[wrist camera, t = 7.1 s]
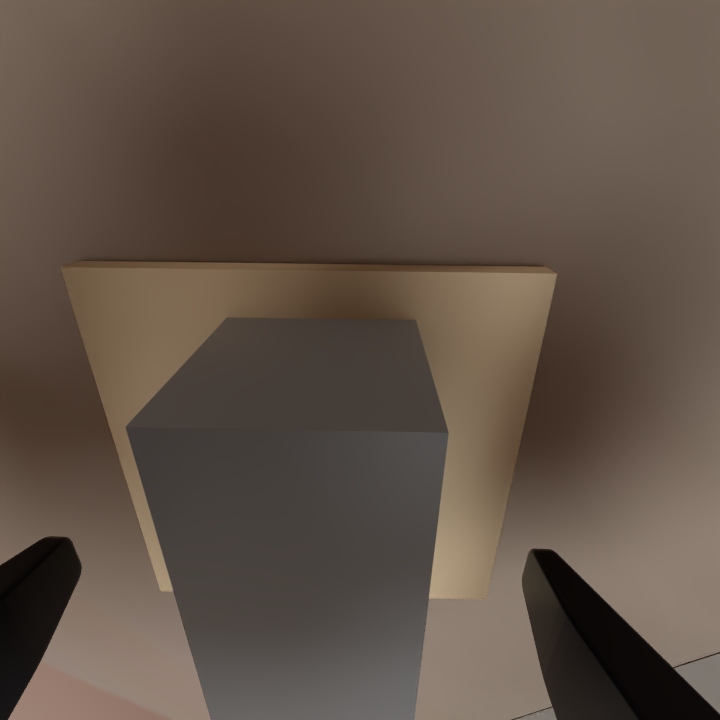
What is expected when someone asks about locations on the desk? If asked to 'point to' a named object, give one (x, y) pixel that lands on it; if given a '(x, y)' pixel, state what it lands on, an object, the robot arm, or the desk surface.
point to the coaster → (339, 301)
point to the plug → (299, 513)
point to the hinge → (707, 676)
